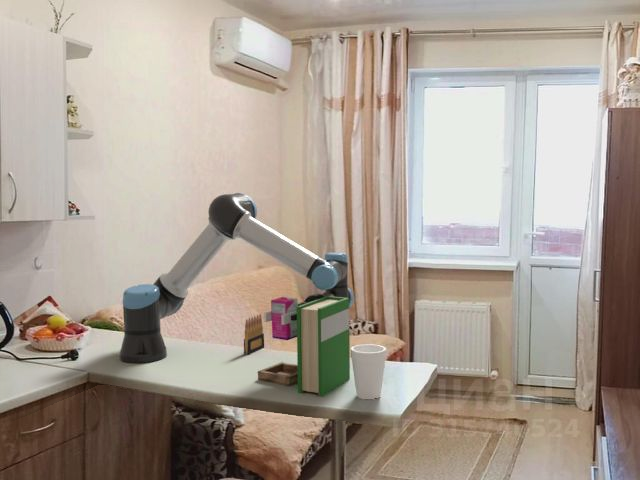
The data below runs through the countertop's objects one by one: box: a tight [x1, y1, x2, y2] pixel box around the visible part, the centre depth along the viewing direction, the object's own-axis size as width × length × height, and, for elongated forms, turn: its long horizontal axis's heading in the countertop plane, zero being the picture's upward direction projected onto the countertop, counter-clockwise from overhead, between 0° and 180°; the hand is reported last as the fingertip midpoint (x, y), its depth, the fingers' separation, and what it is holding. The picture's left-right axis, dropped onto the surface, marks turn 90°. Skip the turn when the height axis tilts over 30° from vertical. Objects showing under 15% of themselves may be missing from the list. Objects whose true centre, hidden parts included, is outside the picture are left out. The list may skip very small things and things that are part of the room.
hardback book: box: [296, 296, 351, 398], centre depth 188 cm, size 18×7×24 cm, turn 152°
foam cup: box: [350, 343, 387, 400], centre depth 180 cm, size 10×9×13 cm
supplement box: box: [270, 296, 299, 341], centre depth 196 cm, size 6×6×12 cm
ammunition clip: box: [243, 313, 265, 356], centre depth 228 cm, size 11×2×12 cm, turn 155°
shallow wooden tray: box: [257, 361, 298, 387], centre depth 197 cm, size 11×11×2 cm
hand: (273, 318), depth 191 cm, fingers closed on supplement box, 6 cm apart
